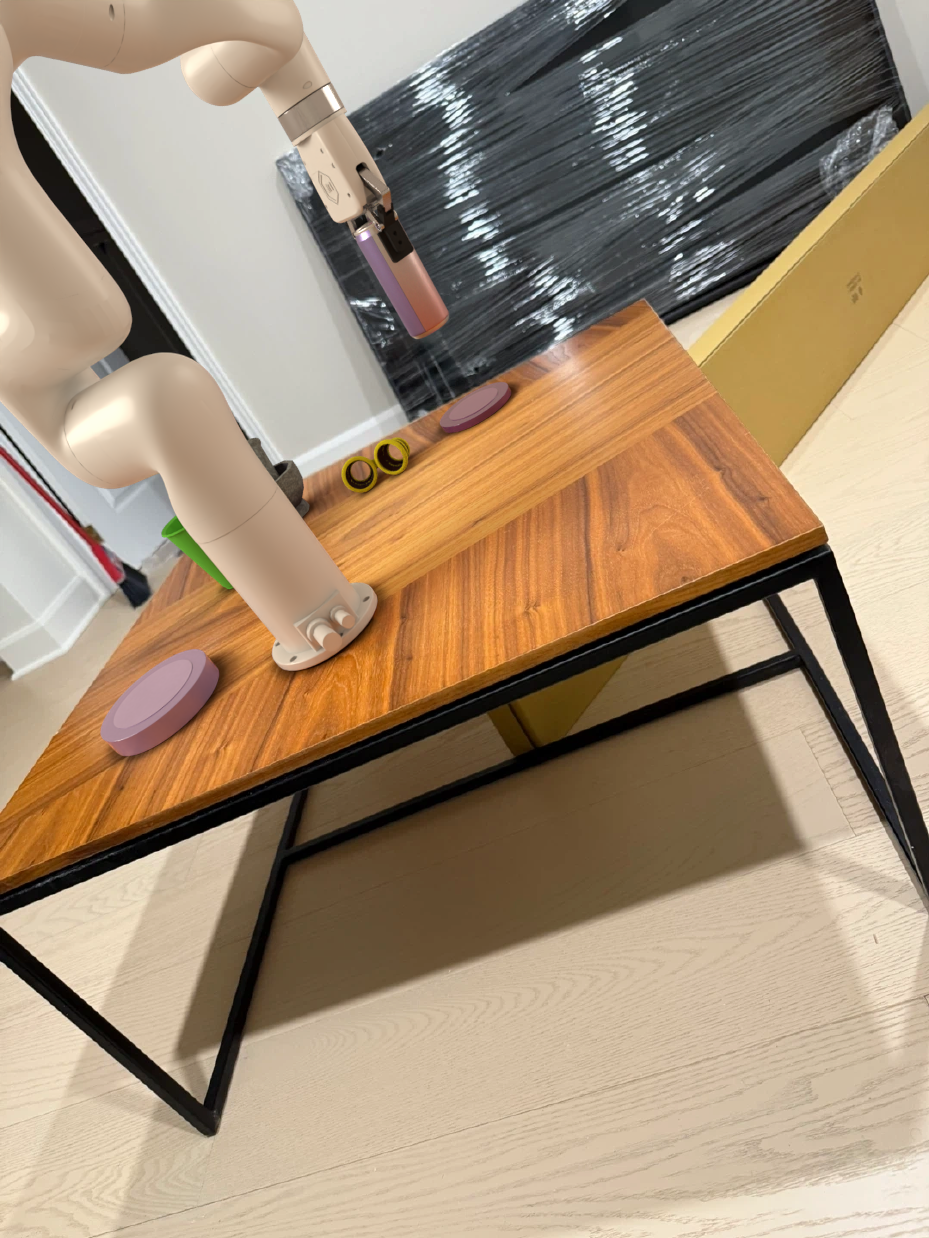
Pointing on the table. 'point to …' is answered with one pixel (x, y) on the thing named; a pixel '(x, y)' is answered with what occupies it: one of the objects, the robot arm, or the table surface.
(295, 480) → the mortar and pestle
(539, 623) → the table surface
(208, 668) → the lavender dish
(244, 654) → the table surface
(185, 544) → the cup
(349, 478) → the opera glasses
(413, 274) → the beverage can
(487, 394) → the plum dish
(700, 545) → the table surface
